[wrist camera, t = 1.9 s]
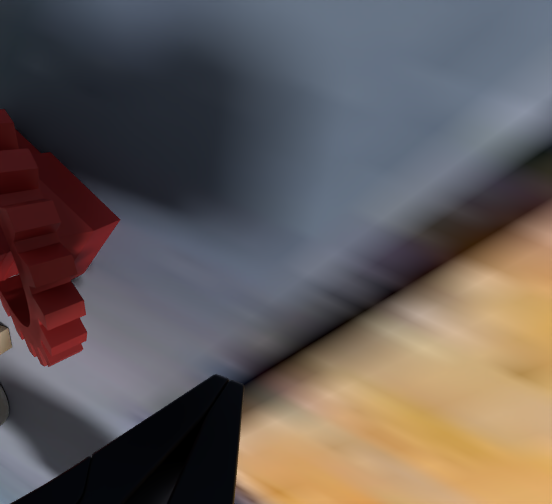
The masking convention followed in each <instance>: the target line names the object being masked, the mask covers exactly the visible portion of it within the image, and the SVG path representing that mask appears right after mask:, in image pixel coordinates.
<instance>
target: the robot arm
mask: <svg viewBox="0 0 552 504" xmlns="http://www.w3.org/2000/svg"><path fill="white" fill-rule="evenodd" d="M243 395H244V385H243V384H242V383H239V382H236V381H234V380H230V381H229V379H228V378H226V377H223V376H220V375H217V374H215V375H213V376H211V377H210V378H208V379H207V380H205V381H204V382H202V383H200V384H199V385H197V386H196V387H194V388H193V389H191V390H190V391H188V392H187V393H185V394H184V395H182V396H181V397H179V398H178V399H176V400H174V401H173V402H171V403H170V404H168V405H167V406H165V407H164V408H162V409H161V410H159V411H158V412H156V413H155V414H153V415H152V416H150V417H148V418H147V419H145V420H144V421H142V422H141V423H139V424H138V425H136V426H135V427H133V428H132V429H130V430H129V431H127V432H126V433H124V434H122V435H121V436H119V437H118V438H116V439H115V440H113V441H112V442H110V443H109V444H107V445H106V446H104V447H103V448H101V449H100V450H98V451H97V452H95V453H93V454H92V458H91V457H90V456H89V457H87V458H85V459H84V460H82V461H81V462H79V463H78V464H76V465H75V466H73V467H72V468H70V469H69V470H67V471H65V472H64V473H62V474H60V475H59V476H57V477H56V478H54V479H52V480H51V481H49V482H48V483H46V484H44V485H43V486H41V487H39V488H37V489H35V490H34V491H32V492H30V493H28V494H27V495H25V496H23V497H21V498H20V499H18V500H16V501H14V502H12V503H11V504H234V498H235V487H236V475H237V464H238V452H239V441H240V430H241V418H242V407H243Z"/></svg>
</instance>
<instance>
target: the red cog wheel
mask: <svg viewBox="0 0 552 504" xmlns="http://www.w3.org/2000/svg"><path fill="white" fill-rule="evenodd" d="M119 221H120V219H119V218H118V217H117V216H116V215H115V214H114V213H113V212H112V211H111V210H110V209H109V208H108V207H107V206H106V205H105V204H104V203H103V202H101V201H100V200H99V199H98V198H97V197H96V196H95V195H94V194H93V193H92V192H91V191H90V190H89V189H88V188H87V187H86V186H85V185H84V184H83V183H82V182H81V181H80V180H79V179H78V178H77V177H76V176H74V175H73V174H72V173H71V172H70V171H69V170H68V169H67V168H66V167H65V166H64V165H63V164H62V163H61V162H60V161H59V160H58V159H57V158H56V157H55V156H54V155H53V154H52V153H51V152H48V153H40V152H39V151H38V150H37V149H36V148H35V147H34V146H33V145H32V144H31V143H30V142H29V141H28V140H27V139H26V138H24V137H23V136H22V135H21V134H20V133H19V132H18V131H17V130H16V129H15V126H14V122H13V121H12V119H11V118H10V116H9V115H8V113H7V112H6V111H5V109H0V299H1V302H2V305H3V307H4V309H5V311H6V313H7V315H8V316H11V317H12V320H13V322H14V325H15V328H16V330H17V332H18V334H19V336H20V337H21V339H22V340H23V339H25V341H26V344H27V346H28V348H29V351H30V352H31V353H32V355H33V356H34V357H36V356H37V357H38V359H39V361H40V363H41V364H42V365H43V366H47V365H48V367H50V366H52V365H54V364H56V363H58V362H60V361H62V360H64V359H66V358H68V357H70V356H72V355H74V354H76V353H78V352H80V351H82V350H83V347H82V344H81V343H82V342H84V341H86V338H87V331H86V329H85V327H84V325H83V324H82V322H81V320H80V318H79V317H82V316H84V315H86V312H85V305H84V300H83V298H82V297H81V295H80V294H79V292H78V291H77V289H76V288H75V286H74V285H73V283H72V282H71V280H72V279H74V278H76V277H78V276H79V275H81V274H83V273H84V272H85V271H86V269H87V268H88V266H89V265H90V263H91V262H92V260H93V259H94V257H95V256H96V254H97V253H98V251H99V250H100V249H101V247H102V246H103V244H104V243H105V241H106V240H107V238H108V237H109V235H110V234H111V232H112V231H113V230H114V228H115V227H116V225H117V224H118V222H119ZM18 273H19V275H18ZM13 275H17V276H13ZM11 276H13V277H11ZM9 277H10V278H9Z"/></svg>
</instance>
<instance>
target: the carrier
mask: <svg viewBox="0 0 552 504" xmlns="http://www.w3.org/2000/svg"><path fill="white" fill-rule="evenodd" d="M10 348H12V345H11V340H10V335H9V330H8V328H6V327H4V326H1V325H0V355H1V354H2V353H4V352H5V351H7V350H8V349H10Z"/></svg>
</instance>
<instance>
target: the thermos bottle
mask: <svg viewBox="0 0 552 504" xmlns="http://www.w3.org/2000/svg"><path fill="white" fill-rule="evenodd" d="M8 415H9V405H8V401H7V398H6V395H5V393H4V391H3V389H2V387H1V385H0V426H1V425H2V424H3V423H4V422H5V421H6V419H7V418H8Z"/></svg>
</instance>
